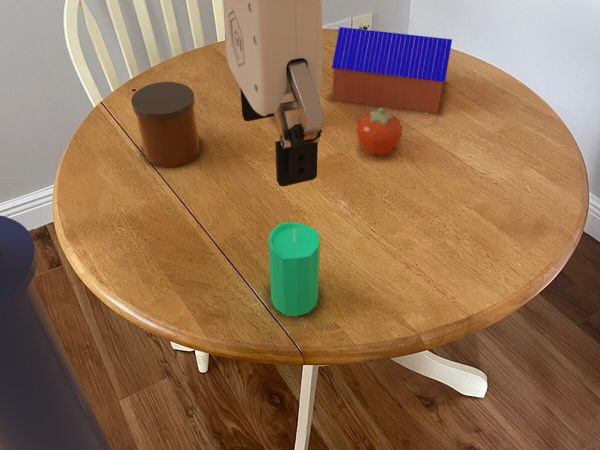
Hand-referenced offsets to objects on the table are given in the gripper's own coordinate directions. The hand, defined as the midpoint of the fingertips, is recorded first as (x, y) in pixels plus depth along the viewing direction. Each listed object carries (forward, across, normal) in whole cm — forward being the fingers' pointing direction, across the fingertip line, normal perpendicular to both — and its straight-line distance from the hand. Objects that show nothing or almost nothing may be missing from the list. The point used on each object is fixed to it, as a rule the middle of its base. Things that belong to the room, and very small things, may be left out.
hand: (277, 146), depth 50 cm
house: (+29, -48, +38) cm, 68 cm away
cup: (+29, -46, +17) cm, 57 cm away
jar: (+29, -43, -5) cm, 52 cm away
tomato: (+29, -32, +27) cm, 51 cm away
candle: (+29, -6, +4) cm, 30 cm away
